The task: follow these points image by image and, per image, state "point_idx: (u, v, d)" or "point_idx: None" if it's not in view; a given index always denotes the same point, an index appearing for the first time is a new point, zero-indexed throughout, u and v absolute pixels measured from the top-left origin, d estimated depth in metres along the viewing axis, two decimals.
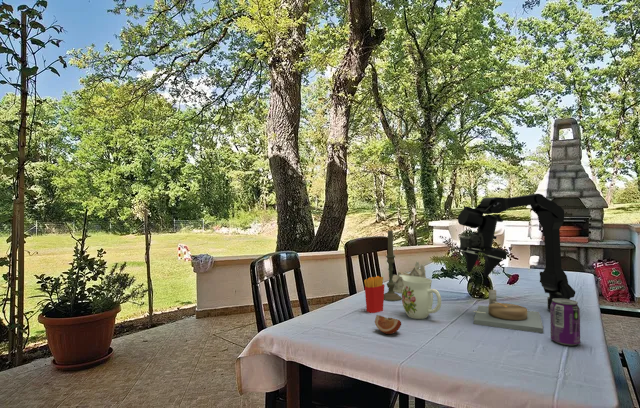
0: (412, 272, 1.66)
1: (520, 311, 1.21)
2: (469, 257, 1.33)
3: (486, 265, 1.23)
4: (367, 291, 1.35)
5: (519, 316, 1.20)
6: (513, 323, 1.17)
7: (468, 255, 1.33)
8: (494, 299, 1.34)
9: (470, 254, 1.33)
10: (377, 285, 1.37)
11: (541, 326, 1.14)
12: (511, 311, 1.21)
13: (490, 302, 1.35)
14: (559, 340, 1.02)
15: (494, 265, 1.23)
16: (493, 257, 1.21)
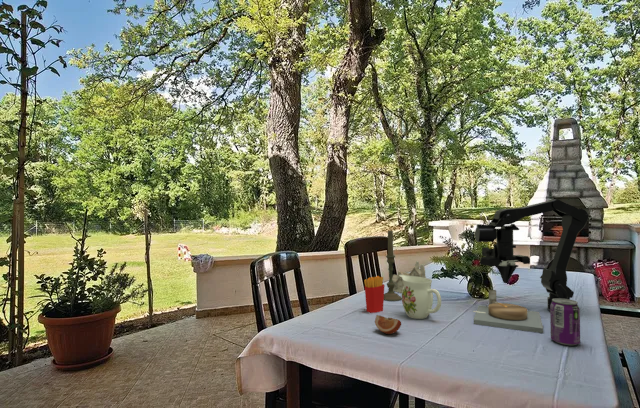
0: (412, 272, 1.66)
1: (520, 311, 1.21)
2: None
3: None
4: (367, 291, 1.35)
5: (519, 316, 1.20)
6: (513, 323, 1.17)
7: None
8: (494, 299, 1.34)
9: None
10: (377, 285, 1.37)
11: (541, 326, 1.14)
12: (511, 311, 1.21)
13: (490, 302, 1.35)
14: (559, 340, 1.02)
15: (504, 272, 1.36)
16: None
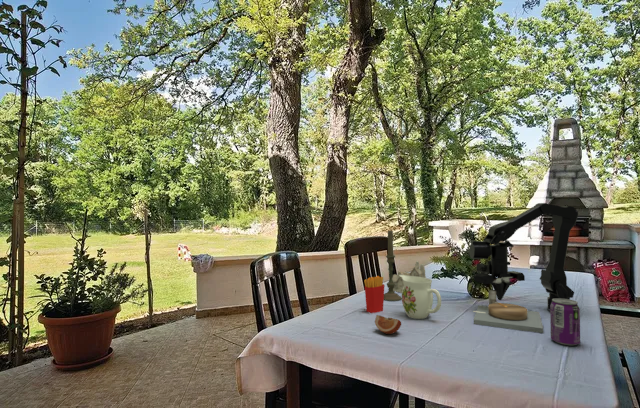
0: (412, 272, 1.67)
1: (520, 311, 1.21)
2: None
3: None
4: (367, 291, 1.35)
5: (519, 316, 1.20)
6: (513, 323, 1.17)
7: None
8: (494, 299, 1.34)
9: None
10: (377, 285, 1.37)
11: (541, 326, 1.14)
12: (511, 311, 1.21)
13: (490, 302, 1.35)
14: (559, 340, 1.02)
15: (499, 289, 1.35)
16: None
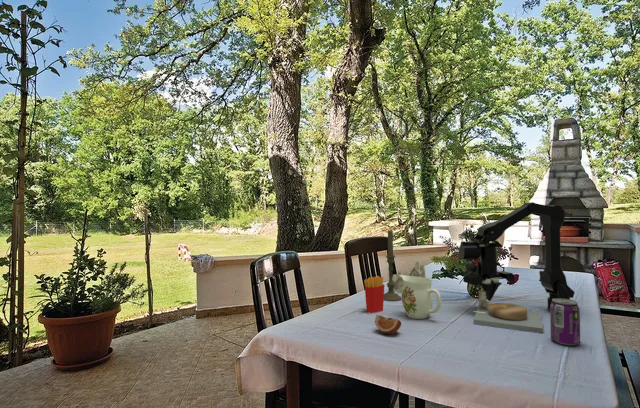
0: (412, 272, 1.67)
1: (524, 310, 1.22)
2: None
3: None
4: (367, 291, 1.35)
5: (525, 316, 1.21)
6: (513, 323, 1.17)
7: None
8: (485, 300, 1.33)
9: None
10: (377, 285, 1.37)
11: (541, 326, 1.14)
12: (518, 311, 1.21)
13: (481, 303, 1.33)
14: (559, 340, 1.02)
15: (488, 290, 1.34)
16: None
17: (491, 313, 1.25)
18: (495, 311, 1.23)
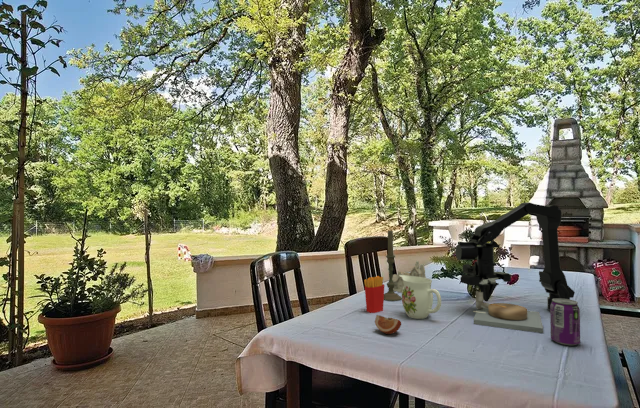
0: (412, 271, 1.67)
1: (524, 309, 1.23)
2: None
3: None
4: (367, 291, 1.35)
5: (526, 315, 1.21)
6: (513, 323, 1.17)
7: None
8: (482, 300, 1.32)
9: None
10: (377, 285, 1.37)
11: (541, 326, 1.14)
12: (520, 311, 1.21)
13: (479, 304, 1.32)
14: (559, 340, 1.02)
15: (485, 290, 1.33)
16: None
17: (493, 314, 1.24)
18: (498, 312, 1.22)
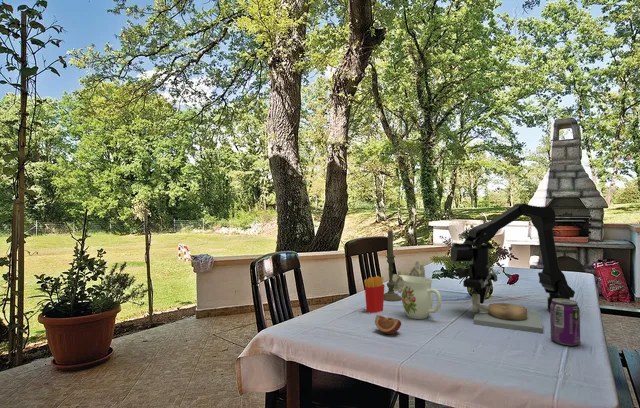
0: (412, 271, 1.68)
1: (522, 307, 1.25)
2: None
3: None
4: (367, 291, 1.35)
5: None
6: (513, 323, 1.17)
7: None
8: (479, 303, 1.29)
9: None
10: (377, 285, 1.37)
11: (541, 326, 1.14)
12: (523, 309, 1.23)
13: (477, 307, 1.28)
14: (559, 340, 1.02)
15: (483, 292, 1.31)
16: None
17: (502, 316, 1.21)
18: (508, 313, 1.20)
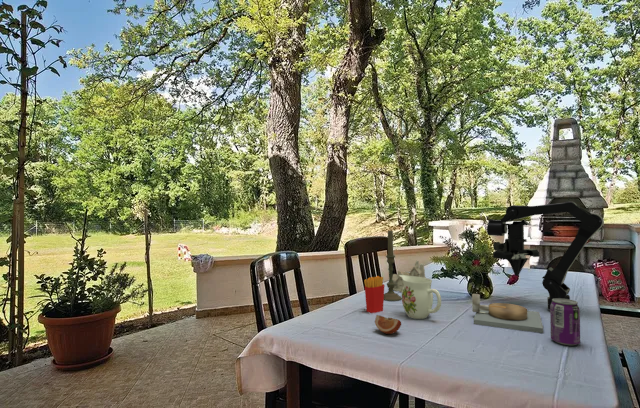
0: (412, 271, 1.68)
1: (522, 307, 1.25)
2: None
3: None
4: (367, 291, 1.35)
5: None
6: (513, 323, 1.17)
7: None
8: (479, 303, 1.29)
9: None
10: (377, 285, 1.37)
11: (541, 326, 1.14)
12: (523, 309, 1.23)
13: (477, 307, 1.28)
14: (559, 340, 1.02)
15: (516, 265, 1.43)
16: None
17: (502, 316, 1.21)
18: (508, 313, 1.20)
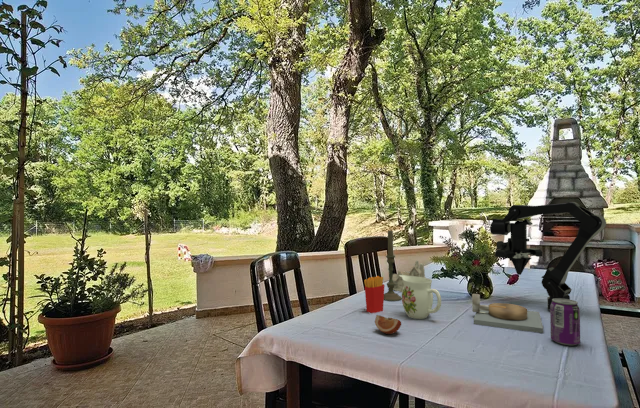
0: (412, 271, 1.68)
1: (522, 307, 1.25)
2: None
3: None
4: (367, 291, 1.35)
5: None
6: (513, 323, 1.17)
7: None
8: (479, 303, 1.29)
9: None
10: (377, 285, 1.37)
11: (541, 326, 1.14)
12: (523, 309, 1.23)
13: (477, 307, 1.28)
14: (559, 340, 1.02)
15: (518, 264, 1.44)
16: None
17: (502, 316, 1.21)
18: (508, 313, 1.20)
